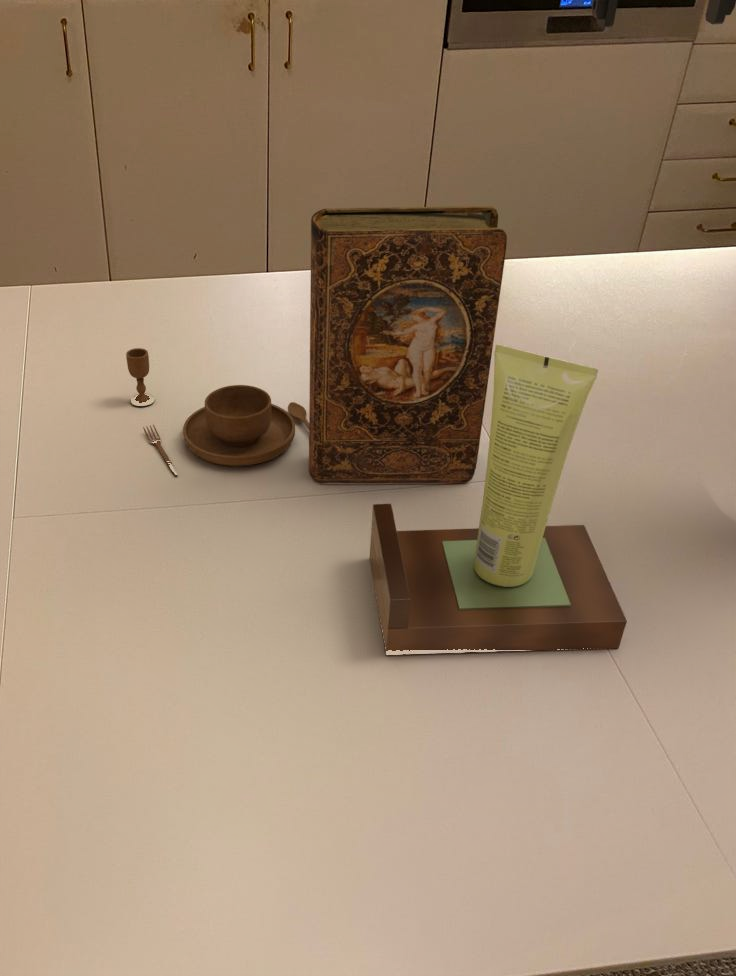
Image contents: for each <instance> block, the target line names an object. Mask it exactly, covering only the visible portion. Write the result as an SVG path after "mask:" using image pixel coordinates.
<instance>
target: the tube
mask: <svg viewBox="0 0 736 976" xmlns="http://www.w3.org/2000/svg"><path fill="white" fill-rule="evenodd" d="M493 353H494V355H493V356H494V357H493V358H494V363H493V365H494V368H493V369H494V371H493V372H494V373H493V393H492V407H491V408H492V409H491V420H490V433H489V441H488V442H489V443H488V452H487V462H486V470H485V480H484V487H483V488H484V489H483V496H482V504H481V511H480V518H479V524H478V525H479V526H478V528H479V532H478V539H477V546H476V552H475V560H474V569H475V571H476V573H477V574H478V575H479V576H480V577H481V578H482V579H484V580H485V581H487V582H489V583H491V584H494V585H498V586H503V587H514V586H519V585H522V584H524V583H526V582H527V581H529V580H530V578H531V577H532V575H533V571H534V568H535V564H536V560H537V556H538V553H539V549H540V545H541V542H542V538H543V534H544V531H545V527H546V526H547V523H548V520H549V516H550V512H551V509H552V506H553V503H554V499H555V495H556V492H557V489H558V486H559V482H560V479H561V476H562V473H563V469H564V466H565V462H566V460H567V456H568V453H569V451H570V447H571V445H572V442H573V438H574V435H575V432H576V431H577V427H578V424H579V421H580V418H581V417H582V412H583V411H584V410H583V409H584V407H585V405H586V402H587V399H588V396H589V395H590V392H591V390H592V387H593V385H594V384H595V381H596V379H597V377H598V373H599V367H598V366H597V367H596V366H592V365H587V364H582V363H578V362H573V361H570V360H565V359H562V358H556V357H553V356H549V355H548V356H547V355H544V354H540V353H536V352H532V351H528V350H524V349H520V348H516V347H512V346H509V345H504V344H501V343H495V348H494V352H493Z"/></svg>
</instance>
